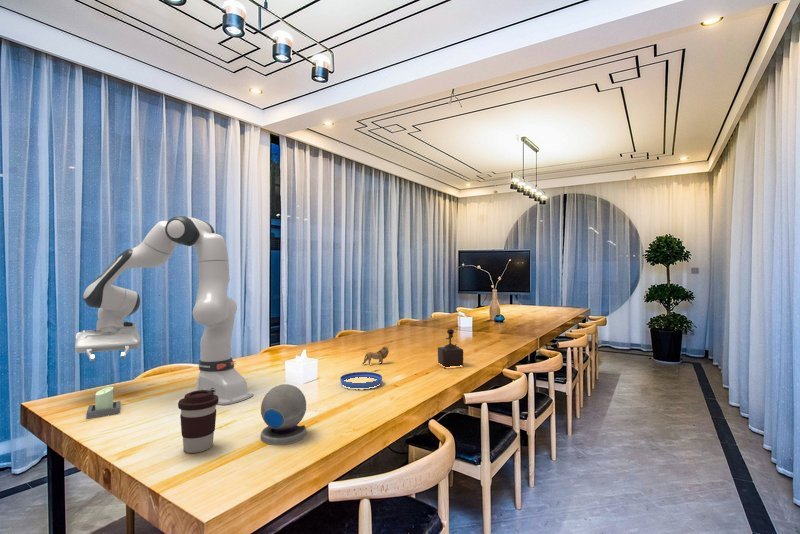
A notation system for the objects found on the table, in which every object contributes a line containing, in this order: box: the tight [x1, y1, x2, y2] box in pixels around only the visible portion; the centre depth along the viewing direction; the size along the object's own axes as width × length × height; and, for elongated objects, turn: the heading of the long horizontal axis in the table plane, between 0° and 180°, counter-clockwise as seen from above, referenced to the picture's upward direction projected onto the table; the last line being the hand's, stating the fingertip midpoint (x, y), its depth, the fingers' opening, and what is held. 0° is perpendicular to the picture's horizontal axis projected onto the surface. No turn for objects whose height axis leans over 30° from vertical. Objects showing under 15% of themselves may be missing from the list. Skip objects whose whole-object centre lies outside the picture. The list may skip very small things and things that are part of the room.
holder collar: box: [85, 400, 122, 420], centre depth 137 cm, size 9×9×2 cm
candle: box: [94, 386, 114, 411], centre depth 137 cm, size 5×5×8 cm
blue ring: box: [339, 371, 383, 388], centre depth 172 cm, size 18×18×4 cm
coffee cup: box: [177, 390, 219, 454], centre depth 110 cm, size 10×10×15 cm
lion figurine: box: [362, 346, 390, 365], centre depth 209 cm, size 15×5×9 cm, turn 111°
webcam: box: [260, 383, 307, 446], centre depth 118 cm, size 13×13×15 cm
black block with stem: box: [437, 328, 464, 367], centre depth 208 cm, size 16×11×18 cm
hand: (107, 359), depth 148 cm, fingers open, 8 cm apart
